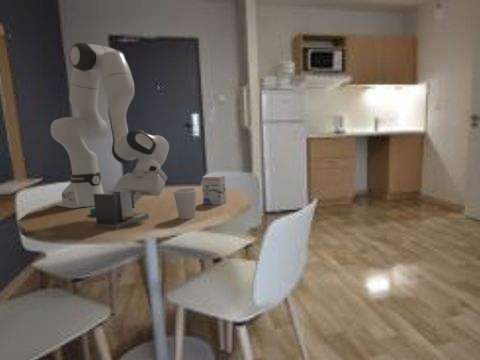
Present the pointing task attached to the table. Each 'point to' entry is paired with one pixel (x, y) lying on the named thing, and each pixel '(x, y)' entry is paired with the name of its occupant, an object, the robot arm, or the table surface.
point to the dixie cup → (185, 202)
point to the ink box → (214, 189)
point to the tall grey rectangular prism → (123, 203)
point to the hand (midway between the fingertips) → (130, 203)
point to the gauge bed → (112, 213)
